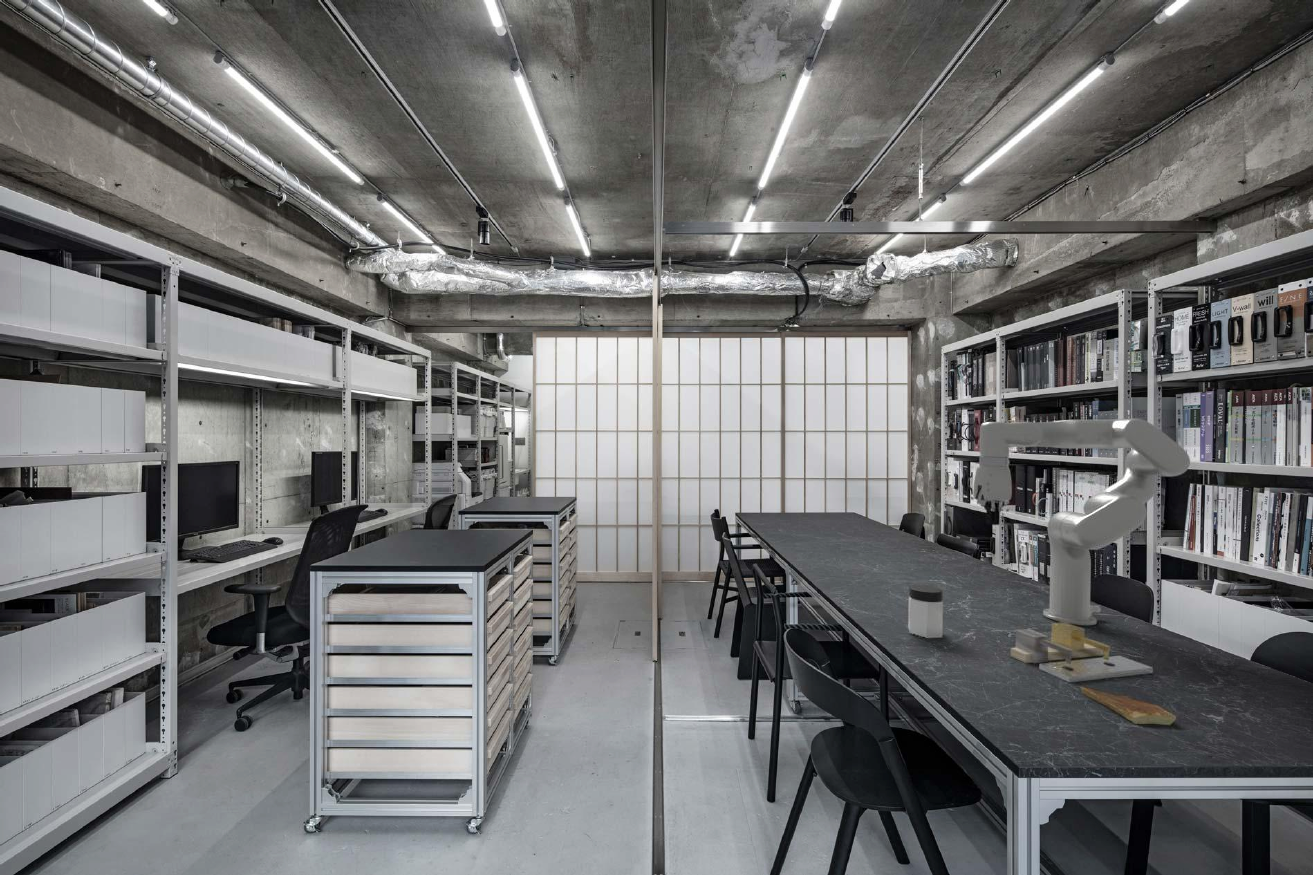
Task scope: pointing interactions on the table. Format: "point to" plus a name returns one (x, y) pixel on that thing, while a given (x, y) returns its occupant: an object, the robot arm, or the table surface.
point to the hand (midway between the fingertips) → (992, 524)
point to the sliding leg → (1074, 638)
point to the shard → (1131, 707)
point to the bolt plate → (1095, 668)
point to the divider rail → (1046, 649)
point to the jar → (925, 611)
